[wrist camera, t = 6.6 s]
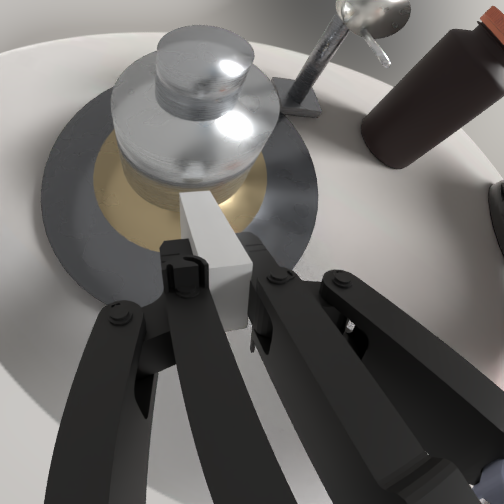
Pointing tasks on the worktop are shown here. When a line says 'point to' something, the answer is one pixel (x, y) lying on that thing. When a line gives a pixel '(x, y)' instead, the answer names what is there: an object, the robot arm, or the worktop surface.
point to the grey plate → (157, 219)
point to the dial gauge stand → (345, 20)
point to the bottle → (439, 93)
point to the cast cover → (192, 116)
